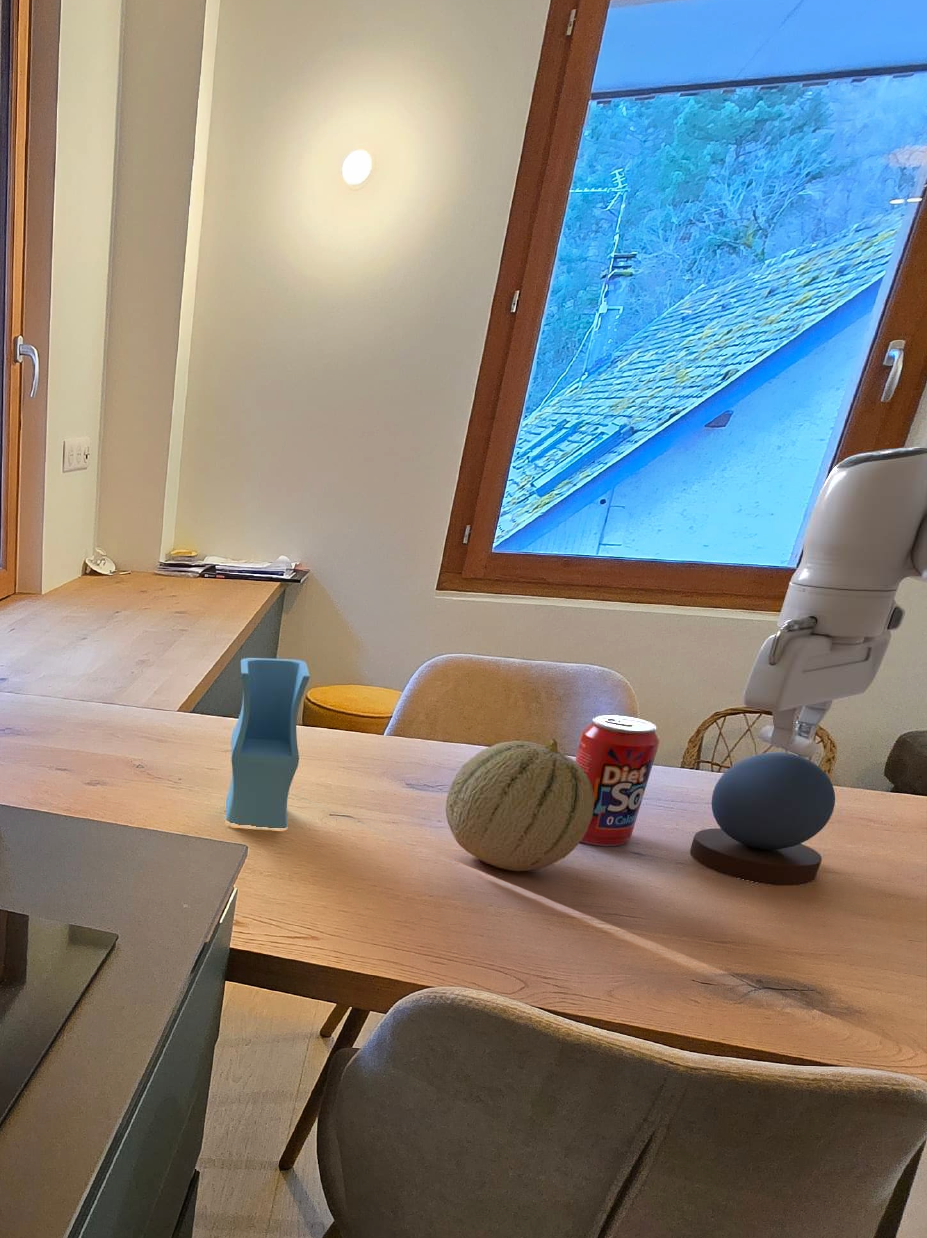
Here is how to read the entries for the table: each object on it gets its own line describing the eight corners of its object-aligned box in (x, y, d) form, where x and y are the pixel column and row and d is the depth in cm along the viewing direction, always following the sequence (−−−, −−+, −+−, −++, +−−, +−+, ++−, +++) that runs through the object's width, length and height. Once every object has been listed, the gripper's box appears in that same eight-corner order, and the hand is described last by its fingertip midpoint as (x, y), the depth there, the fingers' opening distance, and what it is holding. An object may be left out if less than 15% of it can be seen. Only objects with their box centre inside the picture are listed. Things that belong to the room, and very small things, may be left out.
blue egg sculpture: (835, 874, 116) (877, 760, 111) (781, 894, 111) (822, 776, 106) (722, 841, 126) (755, 735, 121) (667, 858, 121) (699, 748, 116)
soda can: (563, 821, 131) (593, 708, 125) (633, 836, 127) (668, 720, 120) (549, 841, 126) (580, 724, 119) (622, 857, 121) (658, 737, 115)
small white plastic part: (790, 762, 111) (798, 734, 109) (751, 746, 116) (758, 720, 115) (824, 760, 111) (832, 732, 109) (783, 745, 116) (790, 718, 115)
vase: (224, 827, 129) (241, 673, 121) (224, 804, 136) (240, 656, 128) (288, 832, 128) (310, 676, 119) (285, 809, 135) (305, 659, 126)
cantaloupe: (411, 860, 120) (435, 738, 113) (473, 828, 128) (499, 713, 121) (539, 905, 109) (574, 774, 103) (598, 867, 118) (634, 743, 111)
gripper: (818, 625, 100) (774, 760, 106) (913, 611, 109) (868, 736, 115) (747, 616, 105) (709, 746, 111) (844, 604, 114) (804, 724, 120)
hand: (791, 741), depth 113 cm, fingers open, 3 cm apart
